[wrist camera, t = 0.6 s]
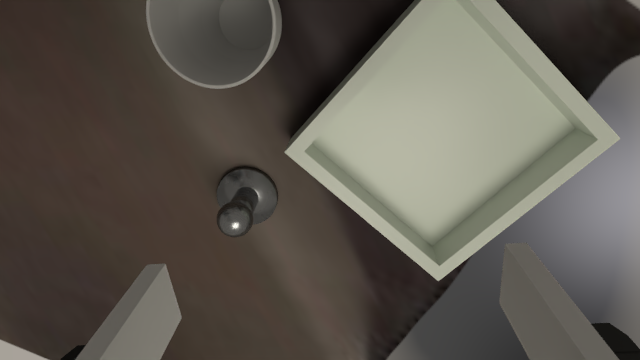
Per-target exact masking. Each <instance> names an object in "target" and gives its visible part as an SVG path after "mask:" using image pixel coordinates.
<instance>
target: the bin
mask: <svg viewBox="0 0 640 360" xmlns="http://www.w3.org/2000/svg"><path fill="white" fill-rule="evenodd" d="M619 139H620V138H619V137H618V135H617V134H616V133H615V132H614V131H613V130H612V129H611V128H610V127H609V125H608V124H607V123H606V122H605V121H604V120H603V119H602V118H601V117H600V115H599V114H598V113H597V112H596V111H595V110H594V109H593V108H592V107H591V106H590V104H589V103H588V102H587V101H586V100H585V99H584V98H583V97H582V96H581V94H580V93H579V92H578V91H577V90H576V89H575V88H574V87H573V86H572V84H571V83H570V82H569V81H568V80H567V79H566V78H565V77H564V76H563V75H562V73H561V72H560V71H559V70H558V69H557V68H556V67H555V66H554V65H553V63H552V62H551V61H550V60H549V59H548V58H547V57H546V56H545V55H544V53H543V52H542V51H541V50H540V49H539V48H538V47H537V46H536V45H535V44H534V42H533V41H532V40H531V39H530V38H529V37H528V36H527V35H526V34H525V32H524V31H523V30H522V29H521V28H520V27H519V26H518V25H517V24H516V23H515V21H514V20H513V19H512V18H511V17H510V16H509V15H508V14H507V13H506V11H505V10H504V9H503V8H502V7H501V6H500V5H499V4H498V3H497V1H496V0H414V1H413V2H412V3H411V5H410V6H409V7H408V8H407V9H406V10H405V11H404V12H403V14H402V15H401V16H400V17H399V18H398V19H397V20H396V21H395V22H394V24H393V25H392V26H391V27H390V28H389V29H388V30H387V31H386V33H385V34H384V35H383V36H382V37H381V38H380V39H379V40H378V42H377V43H376V44H375V45H374V46H373V47H372V48H371V49H370V50H369V52H368V53H367V54H366V55H365V56H364V57H363V58H362V59H361V61H360V62H359V63H358V64H357V65H356V66H355V67H354V68H353V69H352V71H351V72H350V73H349V74H348V75H347V76H346V77H345V78H344V80H343V81H342V82H341V83H340V84H339V85H338V86H337V87H336V88H335V90H334V91H333V92H332V93H331V94H330V95H329V96H328V97H327V99H326V100H325V101H324V102H323V103H322V104H321V105H320V106H319V107H318V109H317V110H316V111H315V112H314V113H313V114H312V115H311V116H310V118H309V119H308V120H307V121H306V122H305V123H304V124H303V125H302V127H301V128H300V129H299V130H298V131H297V132H296V133H295V134H294V135H293V137H292V138H291V139H290V141H289V143H288V146H287V148H286V150H285V153H286V154H287V155H288V156H289V157H291V158H292V159H293V160H294V161H295V162H297V163H298V164H299V165H300V166H301V167H303V168H304V169H305V170H306V171H307V172H308V173H310V174H311V175H312V176H313V177H314V178H316V179H317V180H318V181H319V182H320V183H322V184H323V185H324V186H325V187H326V188H328V189H329V190H330V191H331V192H332V193H334V194H335V195H336V196H337V197H338V198H340V199H341V200H342V201H343V202H344V203H346V204H347V205H348V206H349V207H350V208H352V209H353V210H354V211H355V212H356V213H358V214H359V215H360V216H361V217H362V218H364V219H365V220H366V221H367V222H368V223H369V224H371V225H372V226H373V227H374V228H375V229H377V230H378V231H379V232H380V233H381V234H383V235H384V236H385V237H386V238H387V239H389V240H390V241H391V242H392V243H393V244H395V245H396V246H397V247H398V248H399V249H401V250H402V251H403V252H404V253H405V254H407V255H408V256H409V257H410V258H411V259H413V260H414V261H415V262H416V263H417V264H419V265H420V266H421V267H422V268H423V269H425V270H426V271H427V272H428V273H429V274H430V275H432V276H433V277H434V278H435V279H436V280H438V281H439V280H440V279H442V278H443V277H444V276H446V275H447V274H448V273H449V272H451V271H452V270H453V269H455V268H456V267H457V266H458V265H460V264H461V263H462V262H463V261H465V260H466V259H467V258H469V257H470V256H471V255H472V254H474V253H475V252H476V251H477V250H479V249H480V248H481V247H483V246H484V245H485V244H486V243H488V242H489V241H490V240H492V239H493V238H494V237H495V236H497V235H498V234H499V233H501V232H502V231H503V230H504V229H506V228H507V227H508V226H509V225H511V224H512V223H513V222H514V221H516V220H517V219H518V218H520V217H521V216H522V215H523V214H525V213H526V212H527V211H529V210H530V209H531V208H532V207H534V206H535V205H536V204H537V203H539V202H540V201H541V200H543V199H544V198H545V197H547V196H548V195H549V194H550V193H551V192H553V191H554V190H555V189H557V188H558V187H559V186H561V185H562V184H563V183H564V182H566V181H567V180H568V179H569V178H570V177H572V176H573V175H575V174H576V173H577V172H578V171H580V170H581V169H582V168H584V167H585V166H586V165H587V164H589V163H590V162H591V161H593V160H594V159H595V158H596V157H598V156H599V155H600V154H601V153H603V152H604V151H605V150H606V149H608V148H609V147H610V146H611V145H613V144H614V143H615V142H617V141H618V140H619Z"/></svg>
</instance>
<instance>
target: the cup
mask: <svg viewBox="0 0 640 360" xmlns="http://www.w3.org/2000/svg"><path fill="white" fill-rule="evenodd" d="M146 18H147V25H148V29H149V33H150V36H151V39H152V41H153V44H154V46H155V48H156V50H157V51H158V53H159V55H160V56H161V58H162V59H163V60H164V61H165V63H166V64H167V65H168V66H169V67H170V68H171V69H172V70H173V71H174V72H175V73H177V74H178V75H179V76H181V77H182V78H184V79H185V80H187V81H189V82H191V83H193V84H196V85H199V86H202V87H206V88H214V89H222V88H230V87H234V86H237V85H239V84H242V83H244V82H246V81H247V80H249V79H250V78H252V77H253V76H254V75H255V74H257V73H258V72H259V70H260V69H261V68H262V67H263V66H264V65H265V64H266V63H267V61H268V60H269V59H270V58H271V57H272V55H273V54H274V52H275V50H276V48H277V46H278V43H279V40H280V36H281V30H282V17H281V11H280V6H279V3H278V0H147V2H146Z"/></svg>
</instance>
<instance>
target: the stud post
mask: <svg viewBox="0 0 640 360" xmlns="http://www.w3.org/2000/svg"><path fill="white" fill-rule="evenodd" d="M217 200H218V203H219V206H220V208H221V209H220V210H219V212H218V215H217V225H218V227H219V229H220V230H221V232H222V233H224V234H225V235H227V236H230V237H240V236H243V235H245V234H246V233H247V232H248V231H249V230H250V229H251V227H252V225H253V224H258V223H261V222H263V221H265V220H266V219H268V218H269V217H270V216H271V215H272V214H273V212H274V210H275V208H276V205H277V201H278V192H277V188H276V186H275V184H274V182H273V180H272V179H271V178H270V177H269V176H268V175H267V174H265V173H264V172H262V171H261V170H258V169H256V168H252V167H240V168H236V169H234V170H232V171H230V172H229V173H227V174H226V175H225V176H224V178H223V179H222V180H221V182H220V184H219V186H218V189H217Z"/></svg>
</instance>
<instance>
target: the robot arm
mask: <svg viewBox="0 0 640 360" xmlns="http://www.w3.org/2000/svg"><path fill="white" fill-rule="evenodd" d="M499 303H500V305H501V307H502V309H503V311H504V313H505V314H506V316H507V318H508V320H509V322H510V324H511V326H512V327H513V329H514V331H515V333H516V335H517V337H518V339H519V340H520V342H521V344H522V346H523V348H524V350H525V352H526V353H527V355H528V357H529V359H530V360H640V349H639V348H638V347H637V346H636V344H635V343H634V342H633V341H632V340H631V339H630V338H629V337H628V336H627V335H626V334H624V333H623V332H622V331H620V330H619V329H617V328H616V327H614V326H613V325H611V324H610V323H595V324H590V322H589V321H588V320H587V318H586V317H585V316H584V315H583V314H582V312H581V311H580V310H579V308H578V307H577V306H576V305H575V303H574V302H573V301H572V300H571V298H570V297H569V296H568V295H567V294H566V292H565V291H564V290H563V288H562V287H561V286H560V285H559V283H558V282H557V281H556V279H555V278H554V277H553V276H552V275H551V273H550V272H549V271H548V269H547V268H546V267H545V266H544V264H543V263H542V262H541V261H540V259H539V258H538V257H537V256H536V255H535V253H534V252H533V251H532V249H531V248H530V247H529V246H528V244H527V243H516V244H505V249H504V260H503V270H502V281H501V291H500V301H499ZM181 318H182V317H181V314H180V310H179V307H178V304H177V300H176V297H175V294H174V291H173V287H172V284H171V281H170V277H169V274H168V271H167V267H166V264H153V265H146V267H145V268H144V269H143V271H142V272H141V273H140V275H139V276H138V277H137V279H136V280H135V281H134V283H133V284H132V285H131V287H130V288H129V289H128V291H127V292H126V293H125V295H124V296H123V297H122V298H121V300H120V301H119V302H118V304H117V305H116V306H115V308H114V309H113V310H112V312H111V313H110V314H109V316H108V317H107V318H106V320H105V321H104V322H103V324H102V325H101V326H100V328H99V329H98V330H97V331H96V333H95V334H94V335H93V337H92V338H91V339H90V341H89V342H88V343H87V345H81V346H76V347H75V348H74V349H73V350H71V351H70V352H69V353H68V354H66V355H65V356H64V357H63V358H61V360H160V359H161V357H162V355H163V353H164V351H165V349H166V347H167V345H168V343H169V341H170V339H171V337H172V335H173V334H174V332H175V330H176V328H177V326H178V324H179V322H180V320H181Z"/></svg>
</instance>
